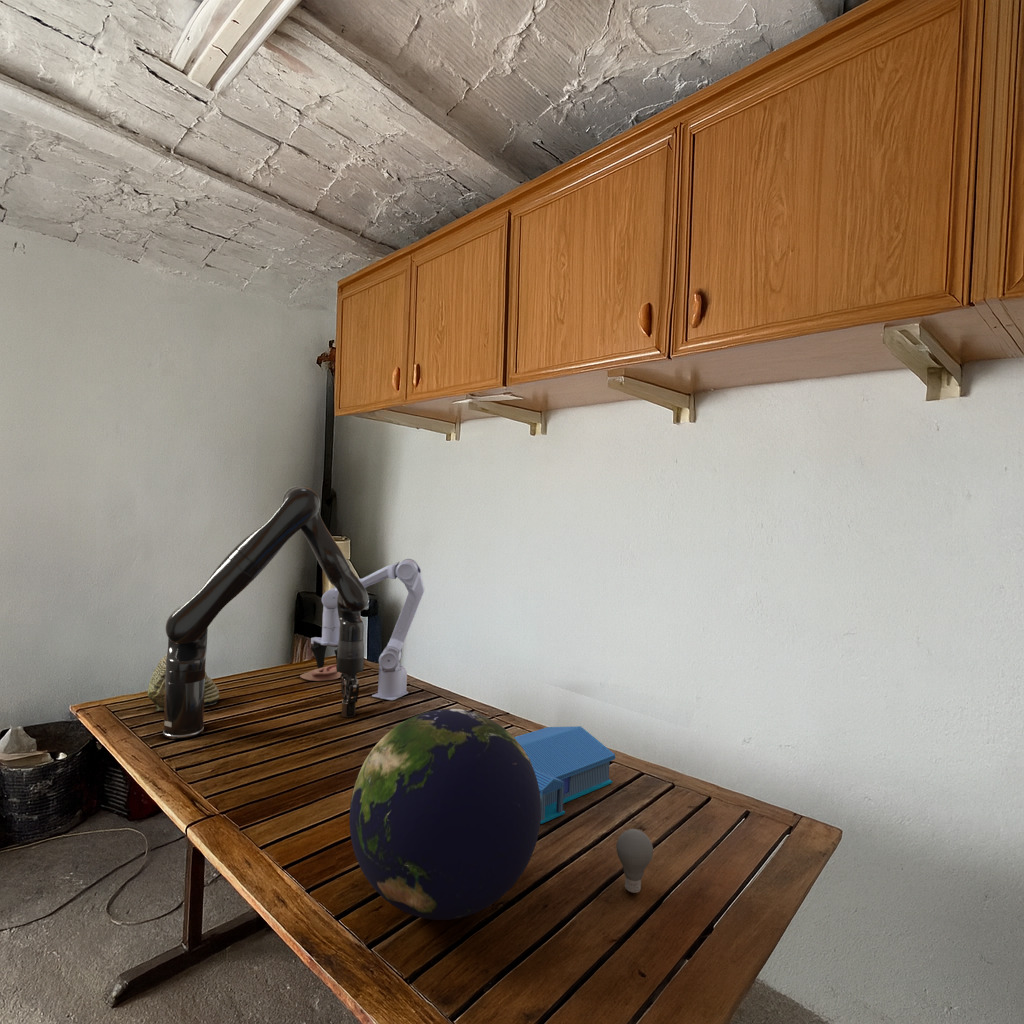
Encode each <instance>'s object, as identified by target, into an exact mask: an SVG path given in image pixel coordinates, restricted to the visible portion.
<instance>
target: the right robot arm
mask: <svg viewBox="0 0 1024 1024" xmlns="http://www.w3.org/2000/svg"><path fill="white" fill-rule="evenodd" d="M357 578H358V579H359V581H360V582H361V584H362V585H363V586H364V588H365V589H366V588H368V587H370V586H372V585H375V584H377V583H379V582H381V581H384V580H386V579H392V580H396V579H398V580H399V581H401V583H403V585H404V586H405V588H406V590H407V592H408V593H407V595H406V598H405V601H404V603H403V605H402V608H401V611H400V614H399V615H398V618H397V621H396V623H395V626H394V628H393V631H392V633H391V636H390V638H389V641H388V642H387V645H386V646H385V647H384V649H383V651H382V652H381V654H380V655H379V657H378V664H379V666H378V680H377V692H376V693H374V694H371V697H372V698H375V699H376V698H377V699H380V700H381V699H382V700H387V701H395V700H397V699H400V698H401V697H403V696H405V695H408V694H409V693H410V692H409V691H407V684H408V672H407V669H406V667H405V666H403V665H401V663H400V661H401V660H402V657H403V647H404V644H405V641H406V638H407V637H408V633H409V631H410V628H411V625H412V623H413V620H414V619H415V615H416V613H417V611H418V608H419V606H420V603H421V601H422V599H423V595H424V593H425V585H424V580H423V576H422V569H421V567H420V566H419V564H418V563H417V561H416V560H414V559H412V558H405V559H403V560H401V561H396V562H394V563H391V564H388V565H386V566H384V567H382V568H380V569H378V570H376V571H374V572H372V573H369V574H368V575H366V576H364V577H363V578H360V577H357ZM338 593H339V592H338V590H337V589H336V587H335V586H334V585H333V587H332V588H330V589H328V590H326V591H325V592H324V593H323V594H322V596H321V603H322V606H323V608H322V625H321V626H322V627H321V637H318V636H314V637H311V638H310V645H312V646H310V650H311V652H312V653H313V655H314V658H315V662H316V667H317V669H319V668H323V667H325V657H326V656H325V655H326V651H327V647H330V648H336V649H334V654H335V661H336V663H335V664H336V669H337V652H338V643H339V627H340V622H339V616H338V608H337V597H338ZM337 672H338V671H337Z"/></svg>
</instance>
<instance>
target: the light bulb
mask: <svg viewBox="0 0 1024 1024" xmlns="http://www.w3.org/2000/svg"><path fill="white" fill-rule="evenodd" d="M615 849H616V854H617V857H618V859H619V861H620V863H621V865H622V867H623V873H624V874H623V875H624V876H625V878H624V888H625V890H627V891H628V892H630V893H634V894H635V893H639V892H640V891H641V889H642V887H641V886H642V879H643V877H644V875H645V871H646V868H647V867H648V866H649V864H650V863H651V861H652V859H653V855H654V847H653V843H652V841H651V838H649V836H648V835H647V834H646V833H645V832H643V831H642V830H641V829H636V828H629V829H627V830H625V831H623V832H622V833H621V834H620V835H619V837H618V839H617V841H616V847H615Z"/></svg>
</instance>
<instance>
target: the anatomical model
mask: <svg viewBox="0 0 1024 1024" xmlns="http://www.w3.org/2000/svg"><path fill="white" fill-rule="evenodd" d="M341 674H343V673H340V672H337V669H336V663H335V664H331V665H327V666H323V667H321V668H315V669H312V670H310V671H307V672H304V673H302V674H300V675H299V678H300V679H302V680H306V681H309V682H310V681H312V682H313V681H314V682H315V681H316V682H319V681H321V682H322V681H333V680H337V679H339V678H340V679H341Z"/></svg>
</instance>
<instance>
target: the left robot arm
mask: <svg viewBox="0 0 1024 1024" xmlns="http://www.w3.org/2000/svg"><path fill="white" fill-rule="evenodd" d="M281 498H282V499H281V504H280V506H279V508H278V509H277V510H276V511H275V512H274V513H273V515H272V516H271V517H270V518H269V519H268V520H267V521H266V522H265V523H264V524H262V525H261V526H260V527H259V528H257V529H256V530H254V531H253V532H251V533H250V534H249V535H247V536H246V537H245V538H243V539H242V540H241V541H240V542H238V544H237V545H236V546H235V547H234V548H233V549H231V551H230V552H229V553H228V554H227V555H226V557H224V559H222V561H221V562H220V563H219V565H217V567H216V568H215V569H214V571H213V572H212V574H211V575H210V576H209V578H208V580H207V581H205V583H204V585H203V586H202V587H201V588H200V589H199V591H197V592H196V593H195V594H194V595H193V596H192V597H191V598H190V599H189V600H187V602H185V603H184V604H182V605H180V606H178V607H176V608H175V609H174V610H173V611H172V612H171V613H170V615H169V616H168V618H167V620H166V622H165V633H166V636H167V651H166V655H167V657H166V674H165V705H164V710H163V730H162V737H164V738H166V739H169V740H185V739H190V738H191V739H192V738H194V737H197V736H199V735H202V734H203V732H204V730H205V729H204V727H205V725H204V722H205V721H204V718H205V706H204V693H205V672H206V664H207V663H206V662H207V661H206V660H207V652H208V631H209V630H208V629H209V626H210V625H211V624H212V622H213V621H214V620H215V619H216V617H218V615H219V613H220V612H221V611H223V609H224V608H225V607H226V606H227V605H228V604H229V603H230V602H231V601H232V600H234V599H235V598H236V597H237V596H238V595H239V594H241V593H242V591H243V590H245V589H246V588H247V587H248V586H249V585H250V584H251V583H252V582H253V581H254V580H255V579H256V578H257V577H258V576H259V575H260V574H261V573H262V572H263V570H264V569H266V567H267V566H268V565H269V564H270V563H271V562H272V560H273V559H274V558H275V557H276V555H277V554H278V553H279V552H280V550H281V549H283V548H284V546H285V544H286V543H287V542H288V541H289V540H290V539H291V538H292V537H293V536H294V535H295V534H296V533H297V532H298V531H301V532H302V534H303V535H304V537H305V539H306V541H307V543H308V544H309V546H310V548H311V550H312V552H313V554H314V556H315V558H316V560H317V562H318V564H319V566H320V568H321V569H322V571H323V573H324V575H325V576H326V579H327V580H328V581H329V583H330V584H331V585H332V586H333V587H334V586H335V587H336V589H337V590H338V592H339V593H338V597H337V608H338V616H339V622H340V627H339V643H338V648H337V649H338V652H337V671H338V672H340V673H342V674H341V677H340V690H341V691H340V693H341V695H342V701H343V700H346V703H347V705H346V715H347V716H348V717H347V718H350V717H349V716H353V717H355V716H354V711H355V712H356V707H355V703H356V704H357V703H358V700H359V699H358V698H359V692H360V684H359V678H358V677H357V674H358V673H361V672H363V671H364V667H365V665H364V664H365V621H364V620H363V619H362V617H361V612H362V611H364V610H365V609H366V608H367V607H368V604H369V594H368V592H367V589H366V588H364V586H363V585H362V584H361V582H360V581H359V579H358V578H359V577H357V576H356V574H355V573H354V571H353V570H352V568H351V566H350V563H349V561H348V560H347V558H346V556H345V554H344V553H343V551H342V549H341V548H340V546H339V544H338V543H337V542H336V540H335V539H334V537H333V536H332V535H331V533H330V532H329V530H328V528H327V526H326V524H325V523H324V521H323V519H322V516H321V514H320V511H319V510H320V507H321V501H320V497H319V495H318V493H316V491H315V490H313V489H311V488H309V487H308V486H304V485H293V486H291V487H288V488H287V490H286V491H284V493H283V495H282V497H281Z"/></svg>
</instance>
